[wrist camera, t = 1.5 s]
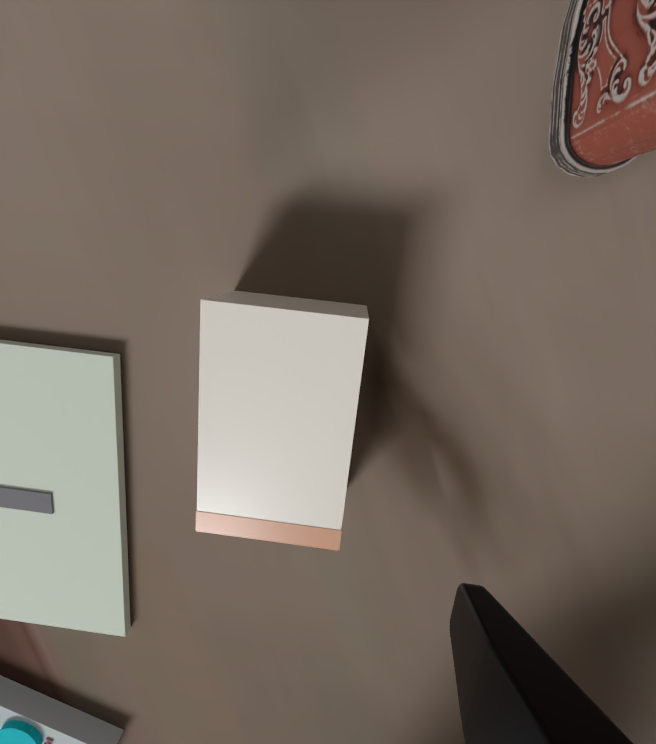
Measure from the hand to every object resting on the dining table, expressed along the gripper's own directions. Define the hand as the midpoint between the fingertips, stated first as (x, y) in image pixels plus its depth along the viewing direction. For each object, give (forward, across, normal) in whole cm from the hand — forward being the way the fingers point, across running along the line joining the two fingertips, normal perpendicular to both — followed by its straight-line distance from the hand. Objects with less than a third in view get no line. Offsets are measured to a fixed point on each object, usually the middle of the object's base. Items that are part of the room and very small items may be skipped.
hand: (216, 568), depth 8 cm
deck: (+9, 0, 0) cm, 9 cm away
